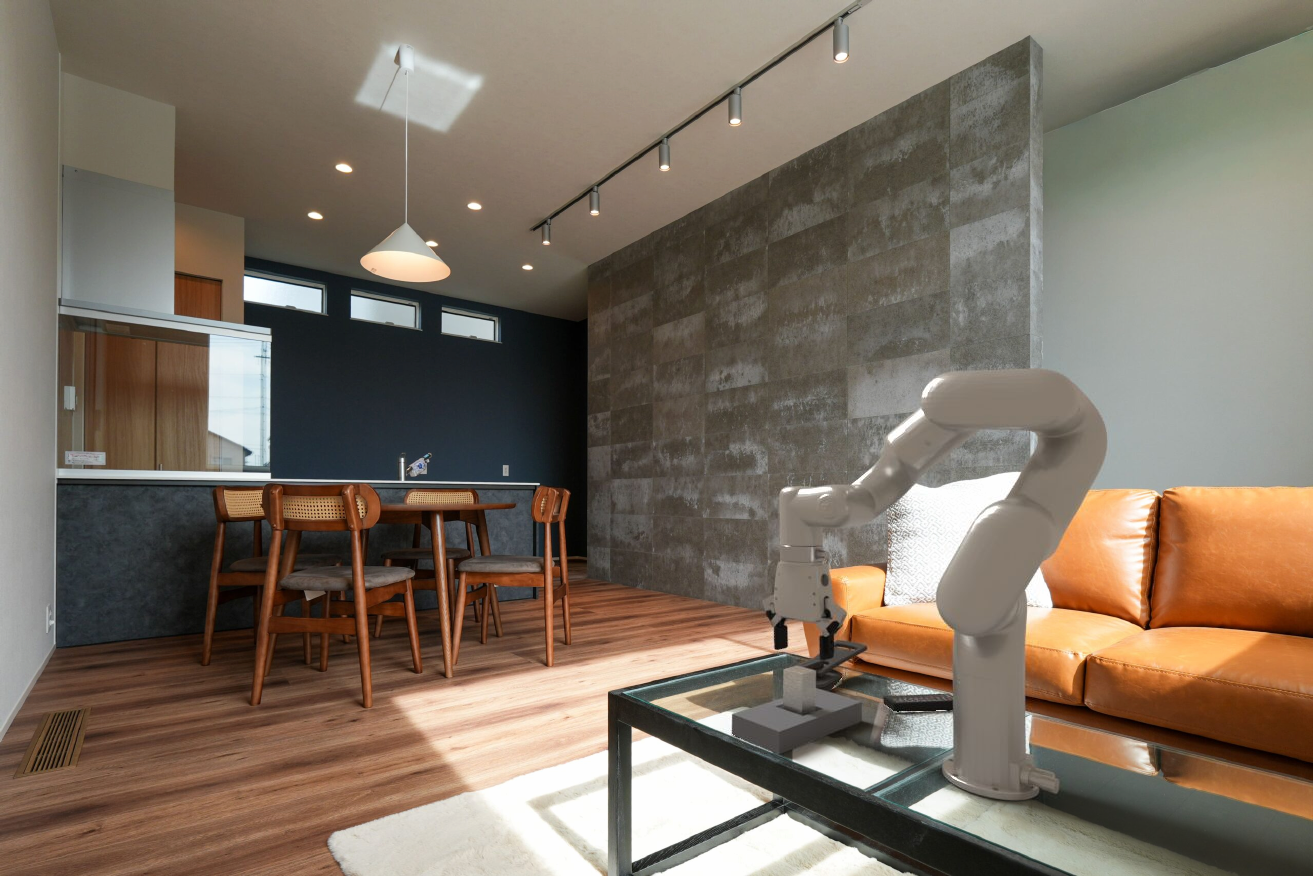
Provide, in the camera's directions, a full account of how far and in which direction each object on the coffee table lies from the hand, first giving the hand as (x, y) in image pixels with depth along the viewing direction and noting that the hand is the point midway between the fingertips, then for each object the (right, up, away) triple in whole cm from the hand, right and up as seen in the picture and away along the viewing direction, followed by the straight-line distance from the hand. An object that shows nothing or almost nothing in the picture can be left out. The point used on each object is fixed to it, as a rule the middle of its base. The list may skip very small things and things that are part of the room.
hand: (803, 653), depth 115 cm
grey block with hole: (-1, -13, -1) cm, 13 cm away
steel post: (-1, -13, -1) cm, 13 cm away
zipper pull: (+12, -16, +28) cm, 34 cm away
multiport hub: (+26, -15, +12) cm, 32 cm away
